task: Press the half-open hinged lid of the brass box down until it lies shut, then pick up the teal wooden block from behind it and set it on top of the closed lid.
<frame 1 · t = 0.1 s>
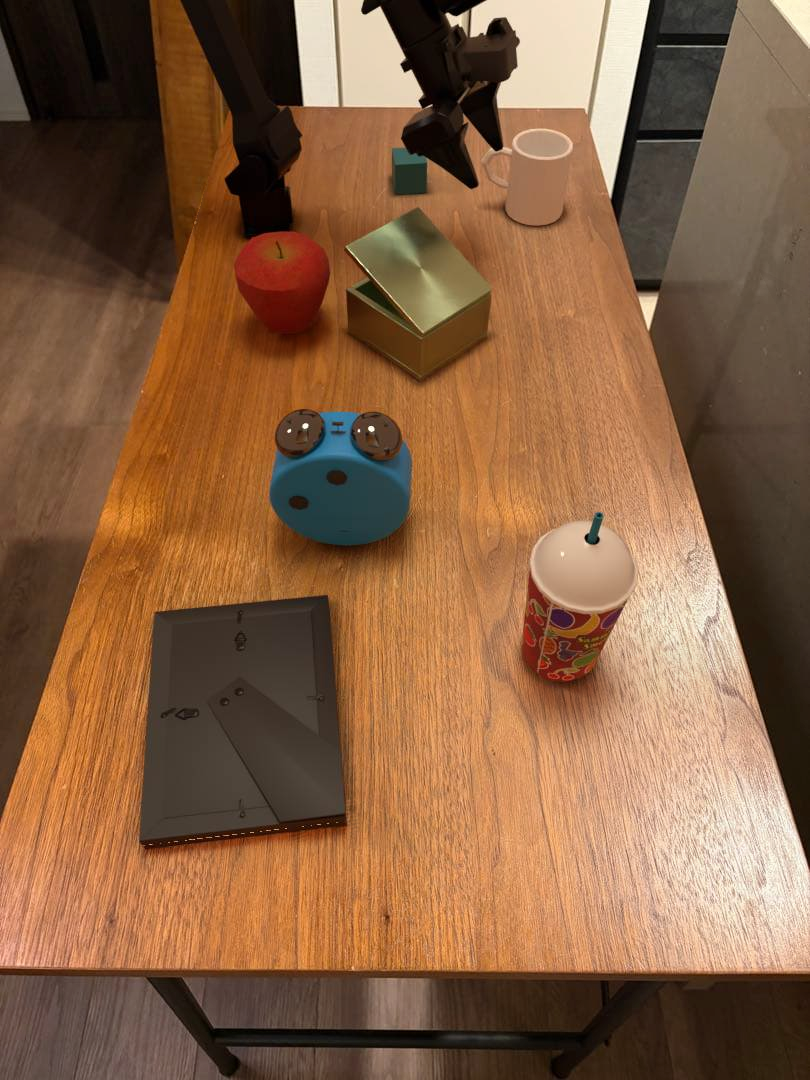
hand: (487, 168, 99), 15 cm above the table, tool tilted 30°, fingers open, 9 cm apart
block: (409, 185, 125), on the table
picture frame: (246, 717, 73), on the table
smoothie: (556, 655, 77), on the table
mug: (519, 210, 121), on the table
apple: (289, 328, 105), on the table
lid: (419, 270, 96), point 9 cm above the table, hinge at 22.0°
alarm clock: (345, 527, 86), on the table
brass box: (417, 334, 104), on the table
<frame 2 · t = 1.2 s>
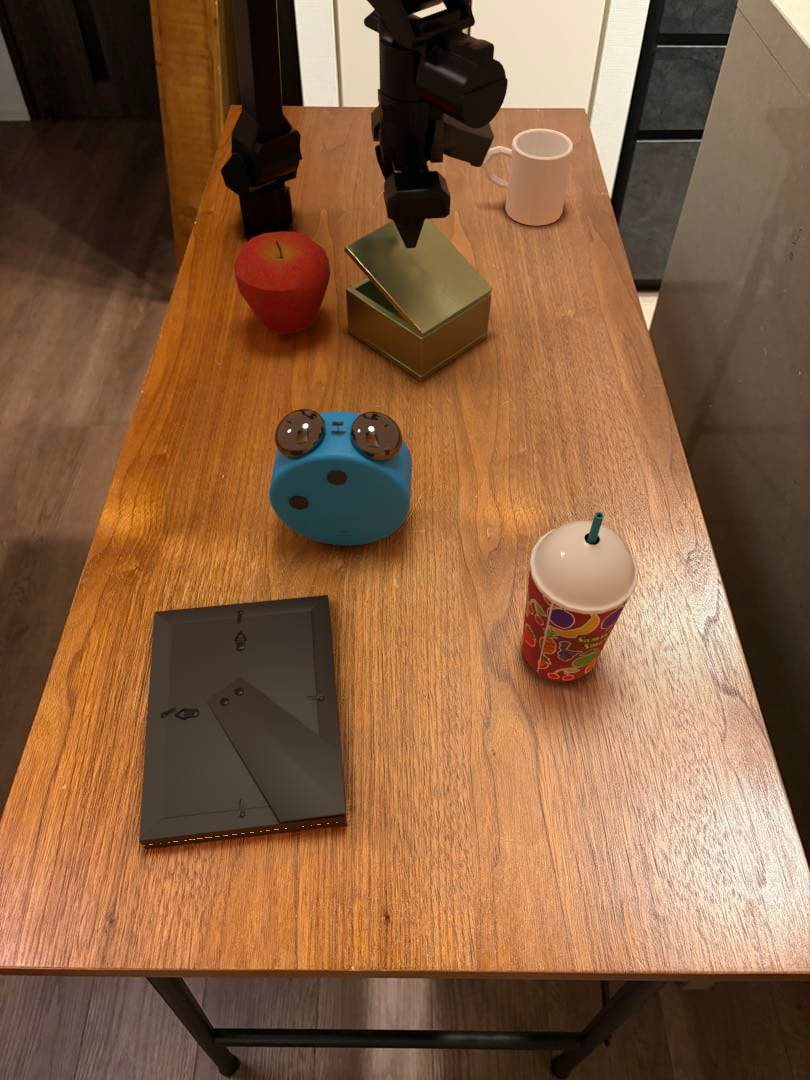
hand: (407, 232, 94), 13 cm above the table, tool pointing down, fingers open, 5 cm apart
nothing on the table moved.
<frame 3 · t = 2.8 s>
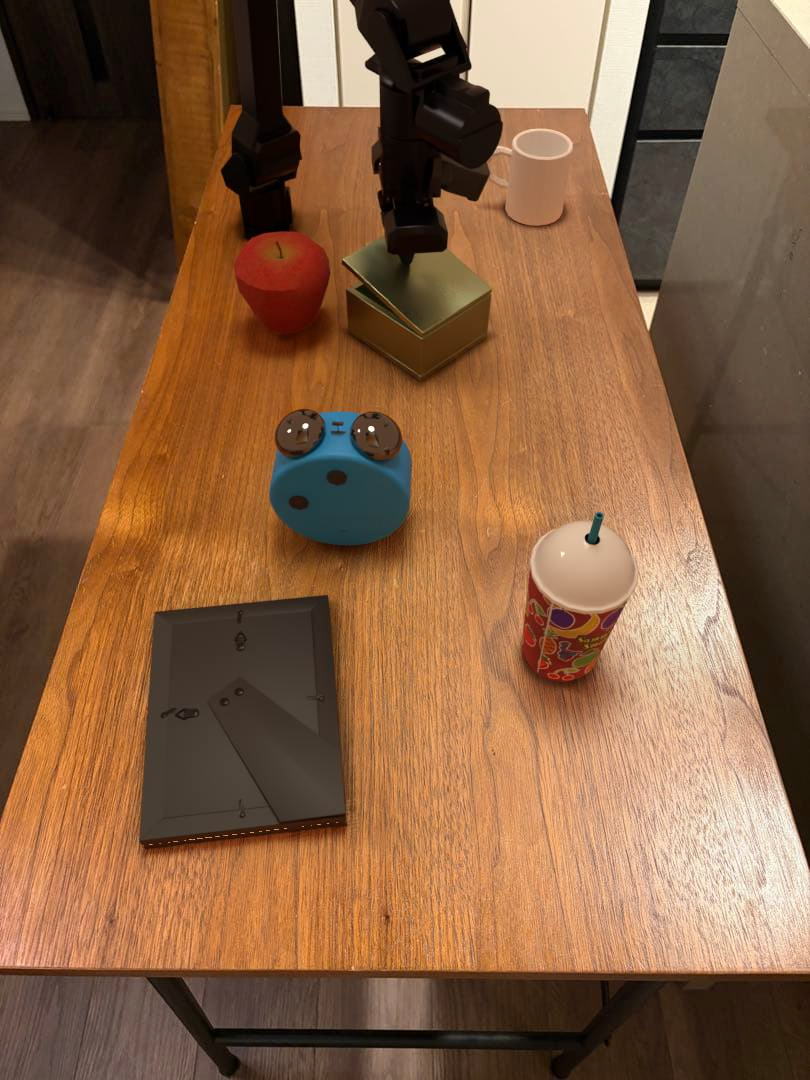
hand: (406, 262, 97), 9 cm above the table, tool pointing down, fingers closed
lid: (417, 276, 97), point 8 cm above the table, hinge at 13.1°, touching gripper
everything else where it was.
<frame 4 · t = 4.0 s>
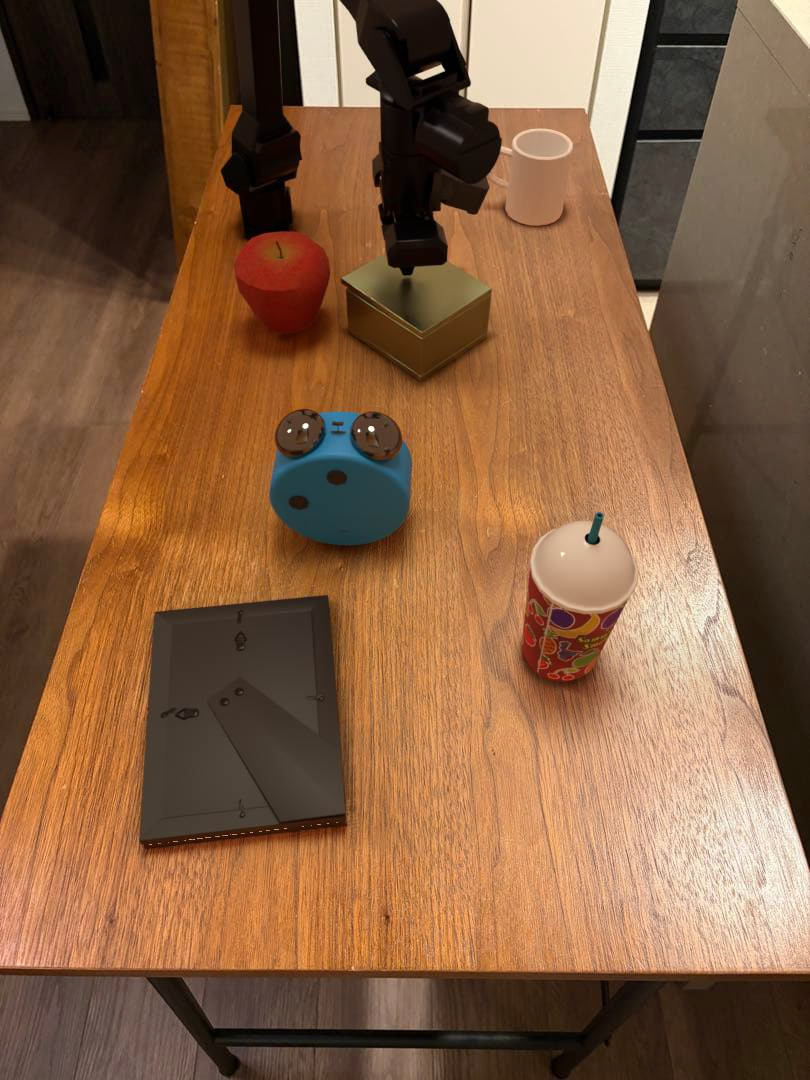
hand: (407, 273, 99), 8 cm above the table, tool pointing down, fingers closed
lid: (416, 285, 99), point 7 cm above the table, hinge at 1.2°
everything else where it was.
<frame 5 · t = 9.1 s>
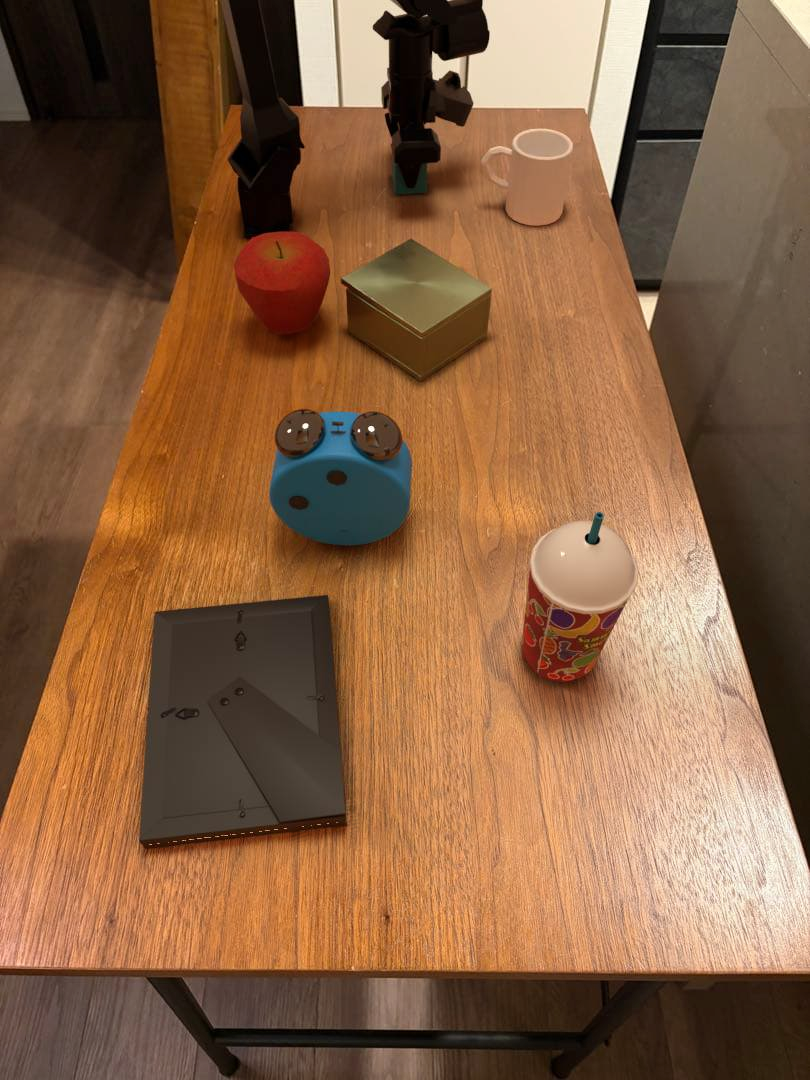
hand: (409, 179, 124), 1 cm above the table, tool pointing down, fingers closed on block, 4 cm apart
block: (409, 185, 125), on the table, touching gripper
everything else where it was.
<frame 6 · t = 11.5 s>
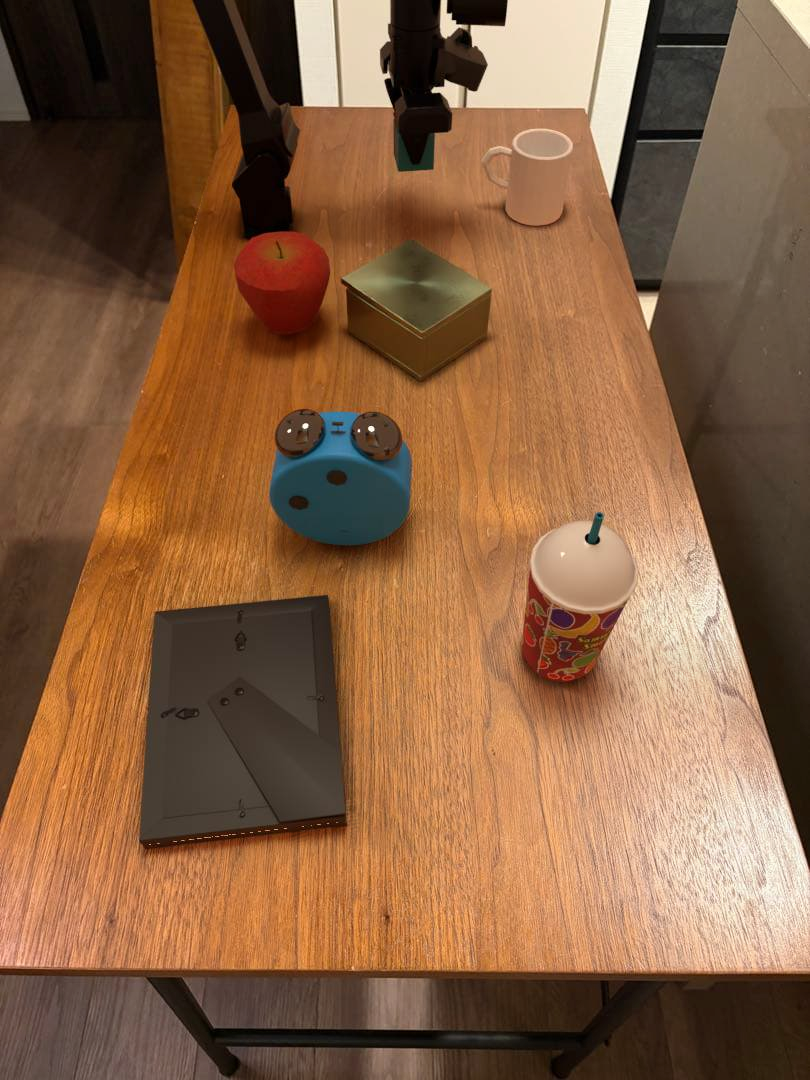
hand: (413, 154, 109), 11 cm above the table, tool pointing down, fingers closed on block, 4 cm apart
block: (413, 161, 110), point 10 cm above the table, touching gripper
everything else where it was.
when the fingers open (8 cm above the table, at t = 14.2 s): block stays where it is, resting on lid.
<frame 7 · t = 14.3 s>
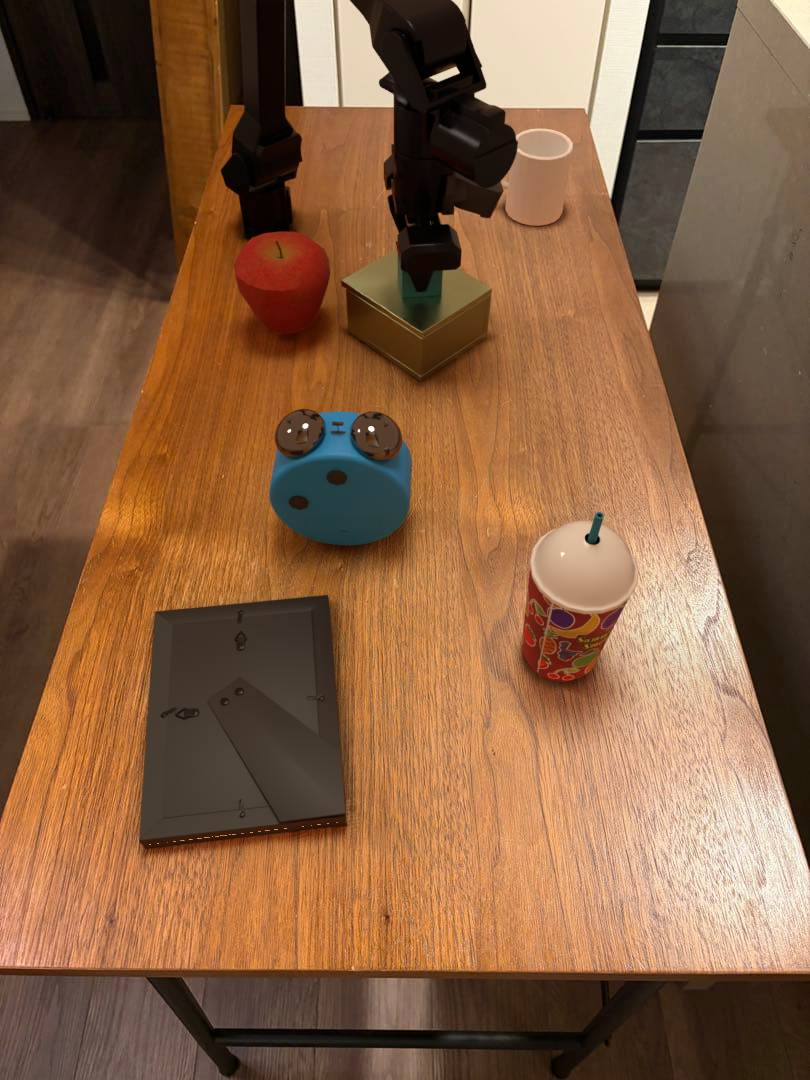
hand: (418, 277, 97), 8 cm above the table, tool pointing down, fingers open, 5 cm apart
block: (419, 284, 98), point 7 cm above the table, touching lid
lid: (416, 286, 99), point 7 cm above the table, hinge at -0.1°, touching block
everything else where it was.
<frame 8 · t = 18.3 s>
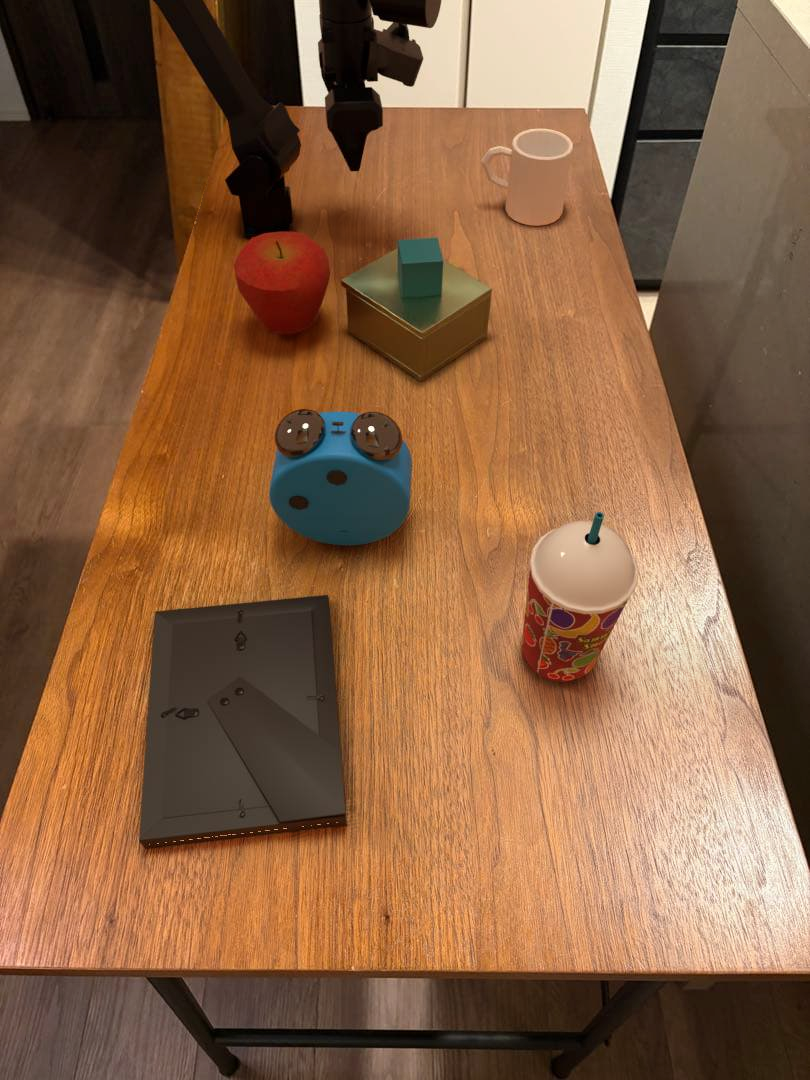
hand: (351, 151, 105), 13 cm above the table, tool pointing down, fingers open, 9 cm apart
nothing on the table moved.
at the end: lid at +0° (first picture: +22°); block inside the target area on the brass box (0.1 cm from its centre), point 7.1 cm above the brass box's base; block tilted 0° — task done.
